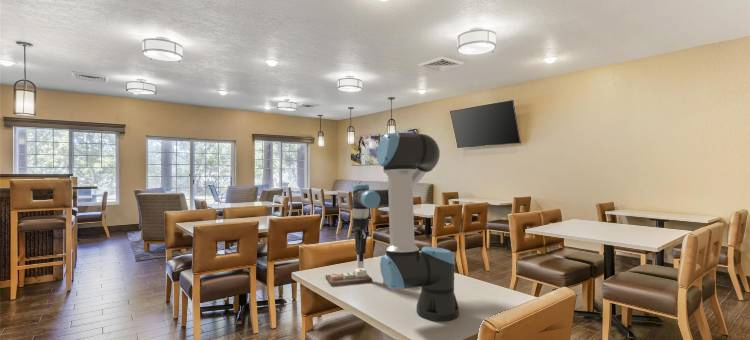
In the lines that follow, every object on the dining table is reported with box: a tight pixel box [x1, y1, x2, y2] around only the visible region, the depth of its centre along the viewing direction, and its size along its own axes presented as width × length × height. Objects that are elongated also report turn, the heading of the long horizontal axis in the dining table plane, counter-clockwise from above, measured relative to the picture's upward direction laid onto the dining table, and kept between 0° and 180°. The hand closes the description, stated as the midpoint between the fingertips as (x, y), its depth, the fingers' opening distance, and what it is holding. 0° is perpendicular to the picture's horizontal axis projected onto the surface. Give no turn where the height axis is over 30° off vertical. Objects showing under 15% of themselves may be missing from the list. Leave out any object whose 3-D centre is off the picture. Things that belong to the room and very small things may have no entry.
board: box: [325, 271, 373, 287], centre depth 173 cm, size 12×19×2 cm, turn 109°
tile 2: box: [342, 271, 355, 279], centre depth 173 cm, size 4×4×3 cm
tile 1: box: [354, 268, 368, 278], centre depth 175 cm, size 4×4×3 cm
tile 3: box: [329, 273, 342, 280], centre depth 171 cm, size 4×4×3 cm
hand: (360, 267), depth 175 cm, fingers closed
